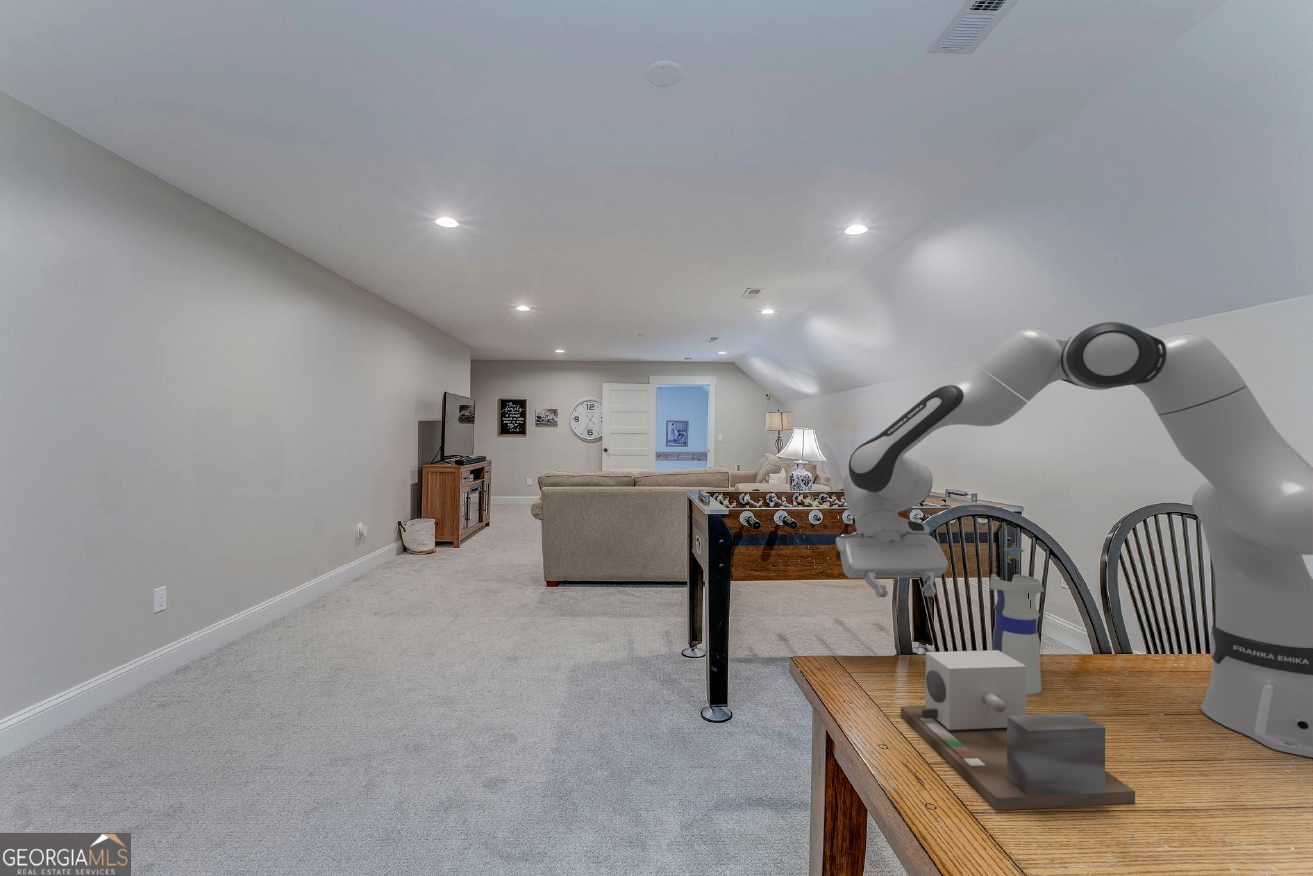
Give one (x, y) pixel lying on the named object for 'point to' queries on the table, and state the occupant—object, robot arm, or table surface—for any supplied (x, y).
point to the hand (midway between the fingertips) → (906, 595)
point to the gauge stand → (1029, 760)
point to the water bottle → (1018, 622)
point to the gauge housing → (974, 689)
